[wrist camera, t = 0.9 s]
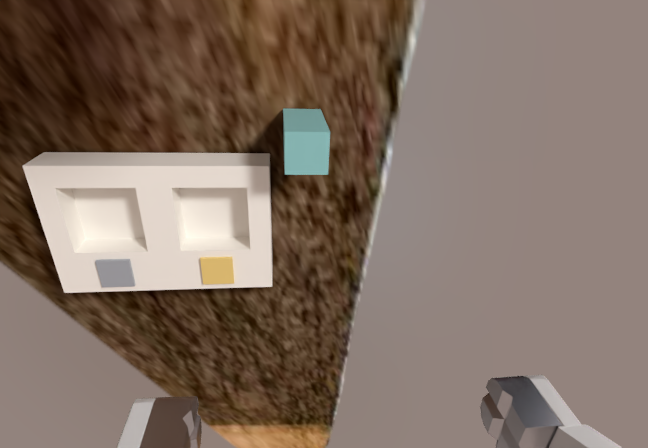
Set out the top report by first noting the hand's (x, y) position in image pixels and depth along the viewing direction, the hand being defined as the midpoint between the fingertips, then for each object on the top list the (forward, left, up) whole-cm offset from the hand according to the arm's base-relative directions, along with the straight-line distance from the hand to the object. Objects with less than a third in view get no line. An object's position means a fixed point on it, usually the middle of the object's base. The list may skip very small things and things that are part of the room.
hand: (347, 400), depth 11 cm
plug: (0, 0, -30) cm, 30 cm away
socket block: (+9, -13, -30) cm, 34 cm away
